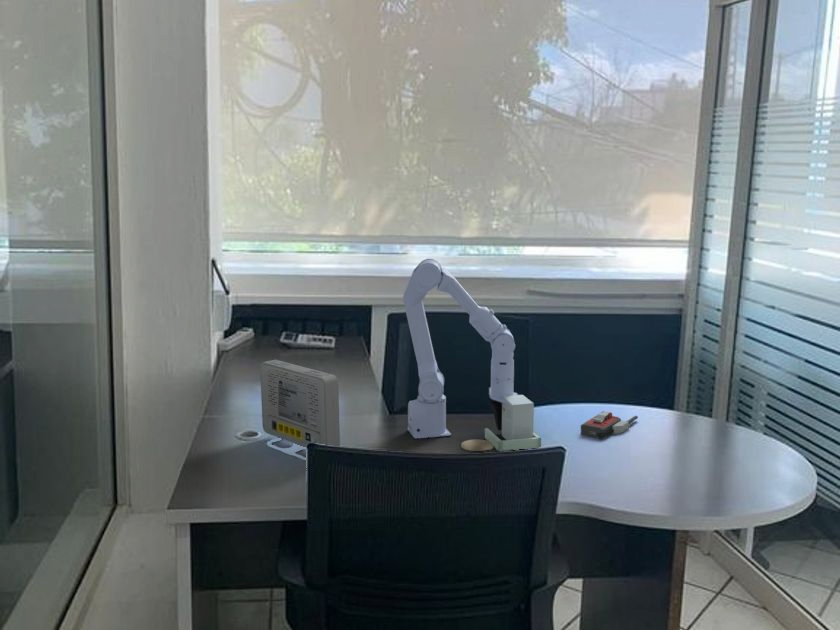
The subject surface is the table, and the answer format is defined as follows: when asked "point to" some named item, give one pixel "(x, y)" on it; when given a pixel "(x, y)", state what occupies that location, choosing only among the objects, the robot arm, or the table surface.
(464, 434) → the table surface
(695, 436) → the table surface
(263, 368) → the network device
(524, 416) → the small box
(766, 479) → the table surface
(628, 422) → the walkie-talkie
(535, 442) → the bracket
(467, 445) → the cork coaster
